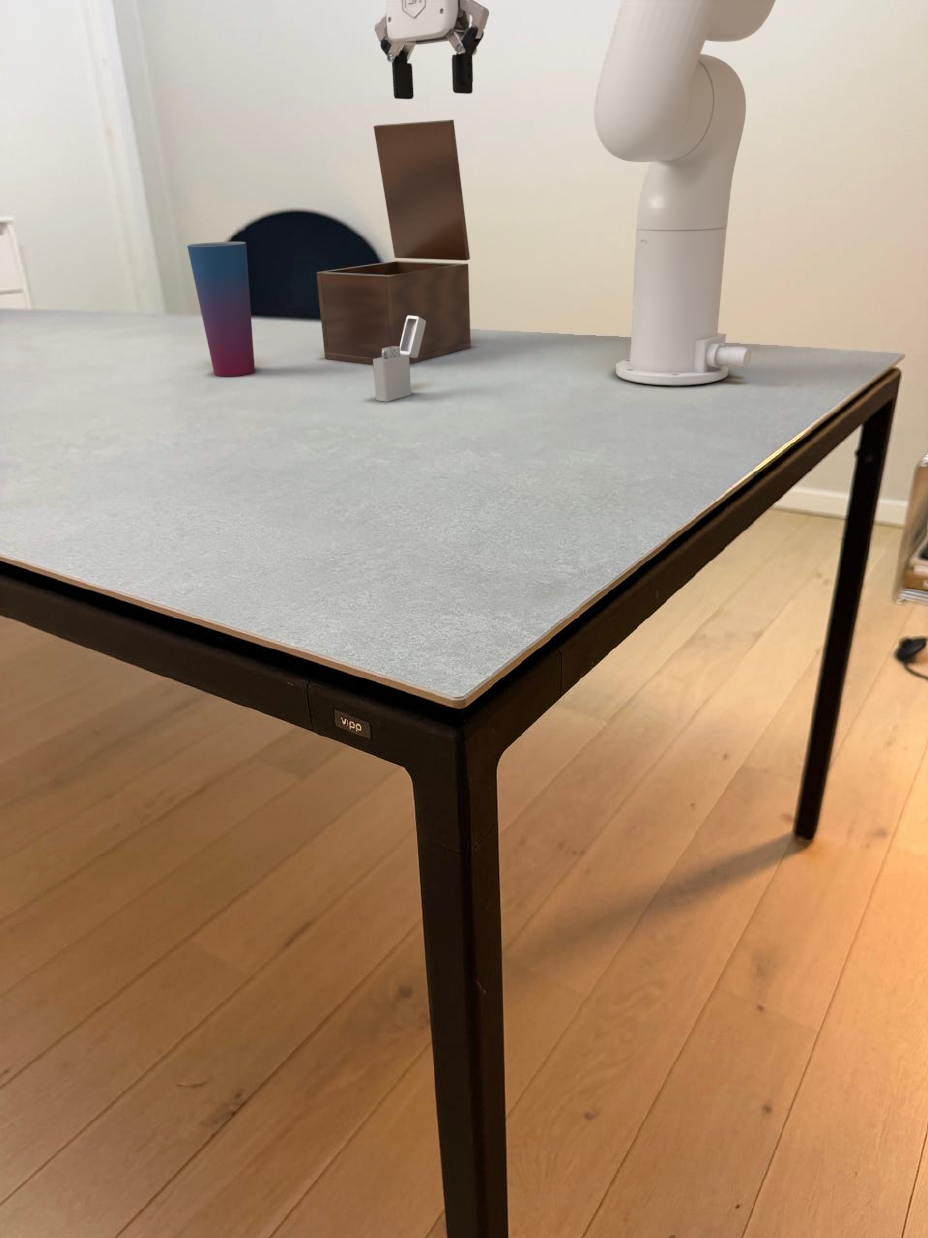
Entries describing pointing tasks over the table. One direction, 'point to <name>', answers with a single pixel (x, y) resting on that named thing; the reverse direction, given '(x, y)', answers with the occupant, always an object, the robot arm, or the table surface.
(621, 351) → the table surface
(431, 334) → the brown wooden box
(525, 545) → the table surface
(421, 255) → the lid
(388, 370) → the lighter
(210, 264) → the cup
